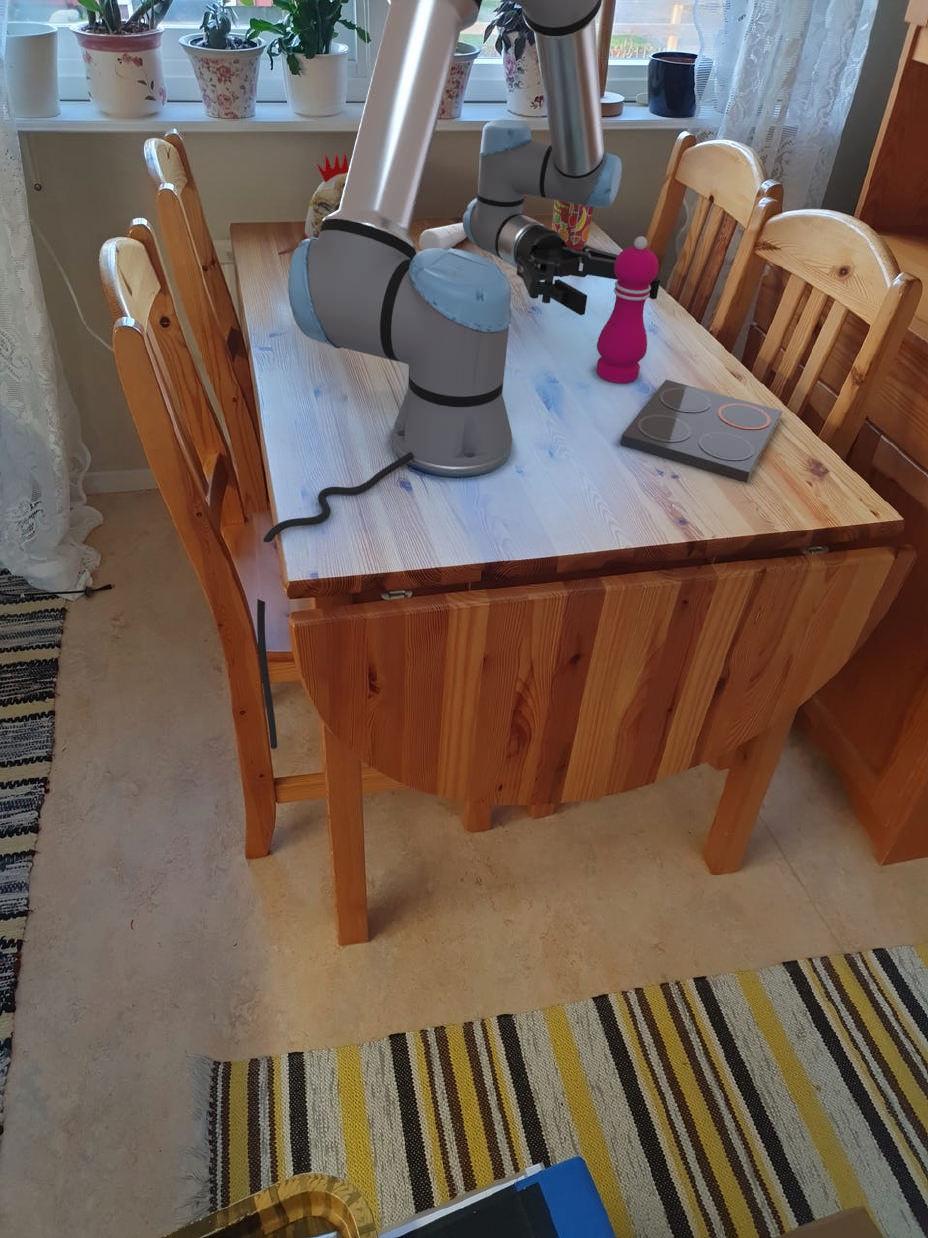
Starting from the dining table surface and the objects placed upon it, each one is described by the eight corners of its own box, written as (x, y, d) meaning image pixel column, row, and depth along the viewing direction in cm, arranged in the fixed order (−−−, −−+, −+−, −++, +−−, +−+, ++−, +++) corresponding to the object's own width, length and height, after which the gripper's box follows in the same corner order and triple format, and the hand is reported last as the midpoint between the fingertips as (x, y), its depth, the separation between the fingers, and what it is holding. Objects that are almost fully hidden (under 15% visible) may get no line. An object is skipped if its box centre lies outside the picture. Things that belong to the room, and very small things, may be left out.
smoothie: (540, 239, 180) (553, 126, 167) (579, 237, 182) (595, 125, 169) (556, 254, 174) (570, 138, 161) (596, 252, 176) (614, 138, 163)
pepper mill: (583, 366, 138) (605, 229, 125) (624, 360, 141) (649, 225, 128) (608, 388, 134) (633, 247, 121) (650, 381, 136) (679, 243, 123)
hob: (746, 482, 116) (750, 471, 115) (619, 444, 121) (622, 434, 120) (779, 420, 129) (782, 410, 128) (663, 388, 135) (666, 378, 134)
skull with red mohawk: (298, 230, 175) (293, 144, 166) (368, 226, 180) (367, 142, 170) (315, 256, 166) (311, 167, 156) (388, 251, 170) (389, 164, 160)
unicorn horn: (502, 227, 184) (504, 202, 180) (439, 261, 168) (440, 234, 165) (482, 222, 185) (483, 197, 182) (417, 255, 170) (417, 228, 166)
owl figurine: (314, 299, 151) (309, 189, 140) (293, 273, 159) (286, 166, 148) (415, 287, 158) (418, 181, 147) (390, 263, 166) (391, 160, 155)
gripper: (591, 261, 152) (679, 308, 139) (465, 284, 141) (548, 338, 128) (598, 213, 147) (690, 258, 134) (468, 234, 136) (555, 285, 123)
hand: (621, 297), depth 131 cm, fingers open, 13 cm apart
